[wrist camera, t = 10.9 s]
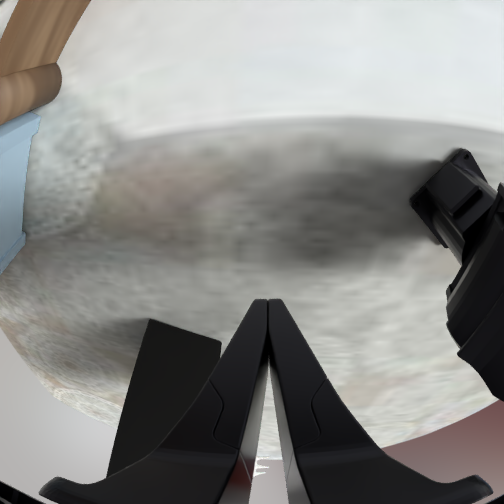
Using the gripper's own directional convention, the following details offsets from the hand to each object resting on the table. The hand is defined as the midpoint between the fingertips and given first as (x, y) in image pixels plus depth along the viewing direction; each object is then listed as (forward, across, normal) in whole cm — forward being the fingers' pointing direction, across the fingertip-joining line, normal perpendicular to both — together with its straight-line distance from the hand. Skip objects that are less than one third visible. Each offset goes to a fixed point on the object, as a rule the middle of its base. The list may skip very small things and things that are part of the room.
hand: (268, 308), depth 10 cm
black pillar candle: (+13, +10, +20) cm, 26 cm away
